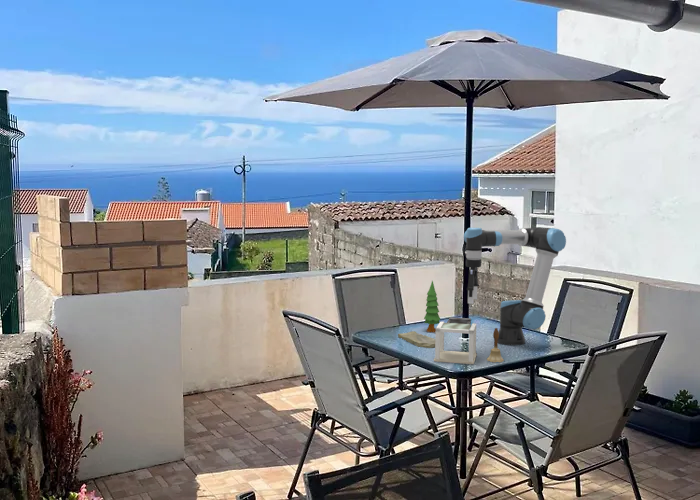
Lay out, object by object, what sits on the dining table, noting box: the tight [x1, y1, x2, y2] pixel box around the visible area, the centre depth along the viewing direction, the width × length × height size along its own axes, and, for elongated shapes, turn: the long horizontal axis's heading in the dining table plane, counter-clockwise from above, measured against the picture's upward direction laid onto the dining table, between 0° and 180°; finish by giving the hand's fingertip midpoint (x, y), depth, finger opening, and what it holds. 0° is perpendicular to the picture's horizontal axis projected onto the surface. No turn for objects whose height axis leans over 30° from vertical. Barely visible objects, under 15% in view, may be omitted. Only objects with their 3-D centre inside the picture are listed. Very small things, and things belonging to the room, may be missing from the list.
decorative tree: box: [423, 280, 441, 333], centre depth 398 cm, size 10×9×30 cm
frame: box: [433, 321, 478, 365], centre depth 337 cm, size 19×19×16 cm
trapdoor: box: [442, 316, 472, 330], centre depth 342 cm, size 13×25×2 cm, turn 165°
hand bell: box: [486, 327, 505, 363], centre depth 333 cm, size 8×8×16 cm
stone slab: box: [397, 331, 435, 349], centre depth 372 cm, size 12×4×30 cm
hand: (472, 301), depth 342 cm, fingers open, 13 cm apart
